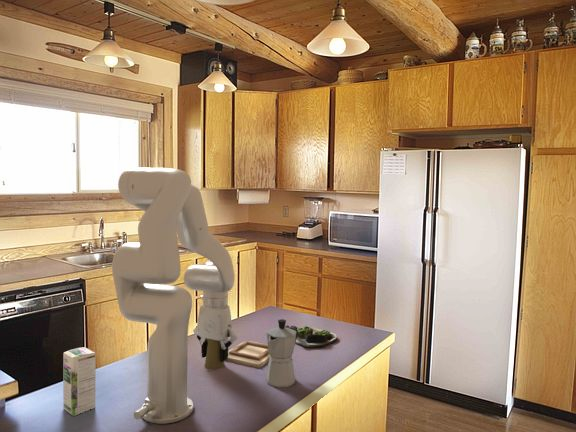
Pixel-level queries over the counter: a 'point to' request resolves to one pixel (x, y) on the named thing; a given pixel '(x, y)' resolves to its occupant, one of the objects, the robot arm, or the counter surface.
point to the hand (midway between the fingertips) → (214, 357)
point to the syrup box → (78, 380)
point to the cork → (213, 355)
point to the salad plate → (314, 337)
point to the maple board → (249, 354)
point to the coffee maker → (281, 355)
